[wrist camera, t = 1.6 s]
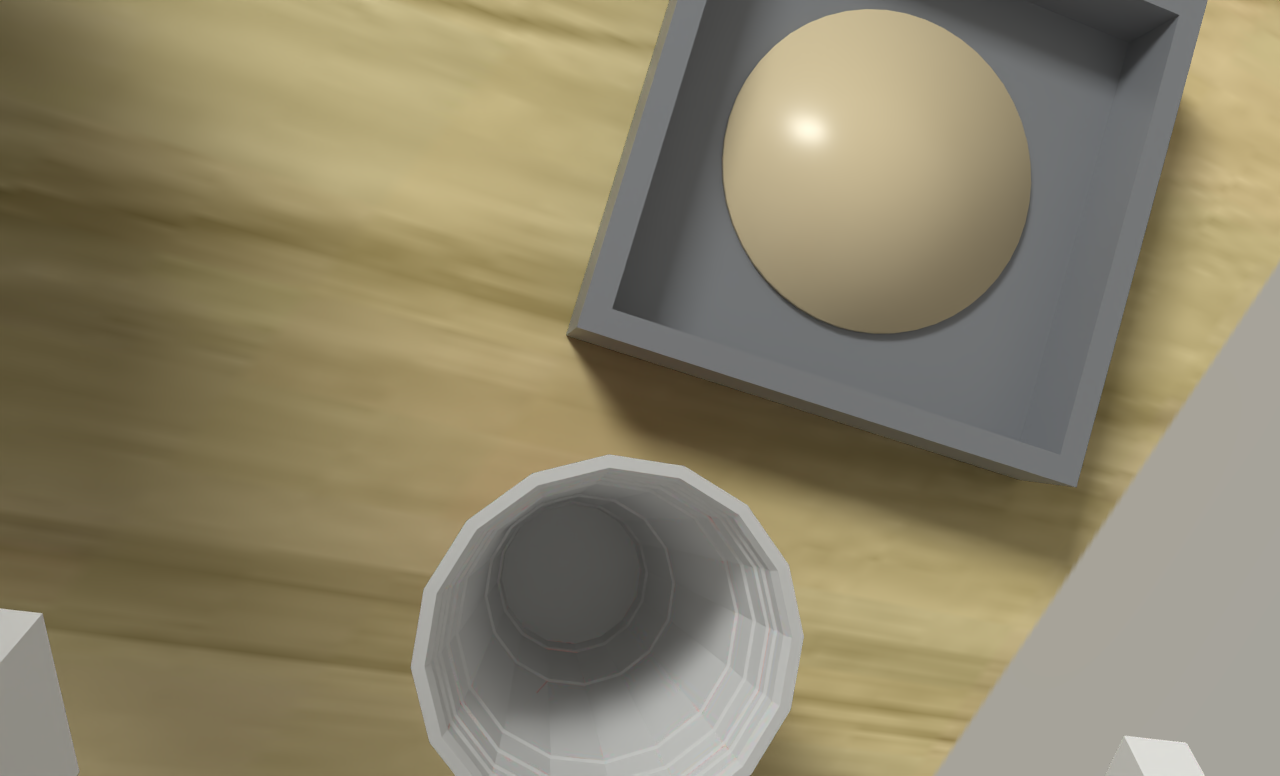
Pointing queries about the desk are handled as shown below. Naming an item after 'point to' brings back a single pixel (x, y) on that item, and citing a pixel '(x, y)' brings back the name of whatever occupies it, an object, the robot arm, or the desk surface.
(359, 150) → the desk surface
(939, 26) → the grey square tray
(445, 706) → the plastic cup
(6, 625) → the robot arm
